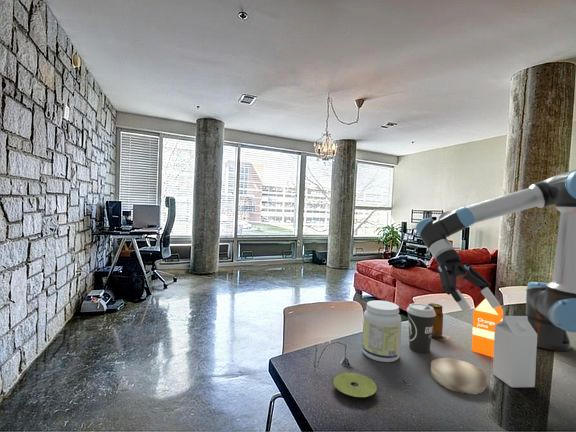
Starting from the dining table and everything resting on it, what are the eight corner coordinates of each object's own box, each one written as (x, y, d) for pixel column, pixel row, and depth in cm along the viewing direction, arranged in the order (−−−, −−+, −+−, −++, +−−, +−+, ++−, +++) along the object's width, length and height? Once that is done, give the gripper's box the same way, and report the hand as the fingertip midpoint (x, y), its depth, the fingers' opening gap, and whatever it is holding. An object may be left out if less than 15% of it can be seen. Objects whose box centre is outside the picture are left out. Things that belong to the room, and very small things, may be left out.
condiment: (429, 330, 126) (430, 301, 126) (451, 337, 119) (452, 306, 119) (420, 334, 121) (422, 304, 121) (442, 341, 115) (444, 310, 114)
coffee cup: (421, 357, 101) (423, 312, 101) (399, 345, 110) (400, 304, 110) (440, 352, 106) (442, 309, 106) (417, 341, 114) (419, 301, 114)
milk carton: (492, 374, 92) (495, 311, 92) (514, 374, 93) (517, 312, 92) (511, 388, 85) (514, 320, 85) (535, 387, 86) (538, 320, 85)
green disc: (385, 400, 77) (385, 393, 77) (345, 407, 74) (345, 399, 74) (362, 377, 88) (362, 370, 88) (326, 381, 85) (326, 374, 85)
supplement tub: (369, 343, 111) (371, 297, 111) (404, 353, 104) (406, 304, 104) (356, 355, 101) (358, 305, 101) (393, 367, 94) (396, 313, 94)
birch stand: (480, 374, 92) (481, 364, 92) (491, 399, 79) (491, 388, 79) (429, 363, 97) (430, 354, 97) (431, 386, 85) (431, 375, 85)
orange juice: (501, 350, 109) (504, 294, 109) (497, 358, 103) (500, 299, 102) (476, 343, 114) (479, 290, 114) (471, 350, 108) (473, 294, 108)
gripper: (462, 259, 118) (499, 310, 105) (412, 261, 109) (446, 317, 95) (476, 247, 113) (517, 299, 100) (424, 248, 104) (462, 306, 90)
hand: (482, 308), depth 97 cm, fingers open, 13 cm apart
